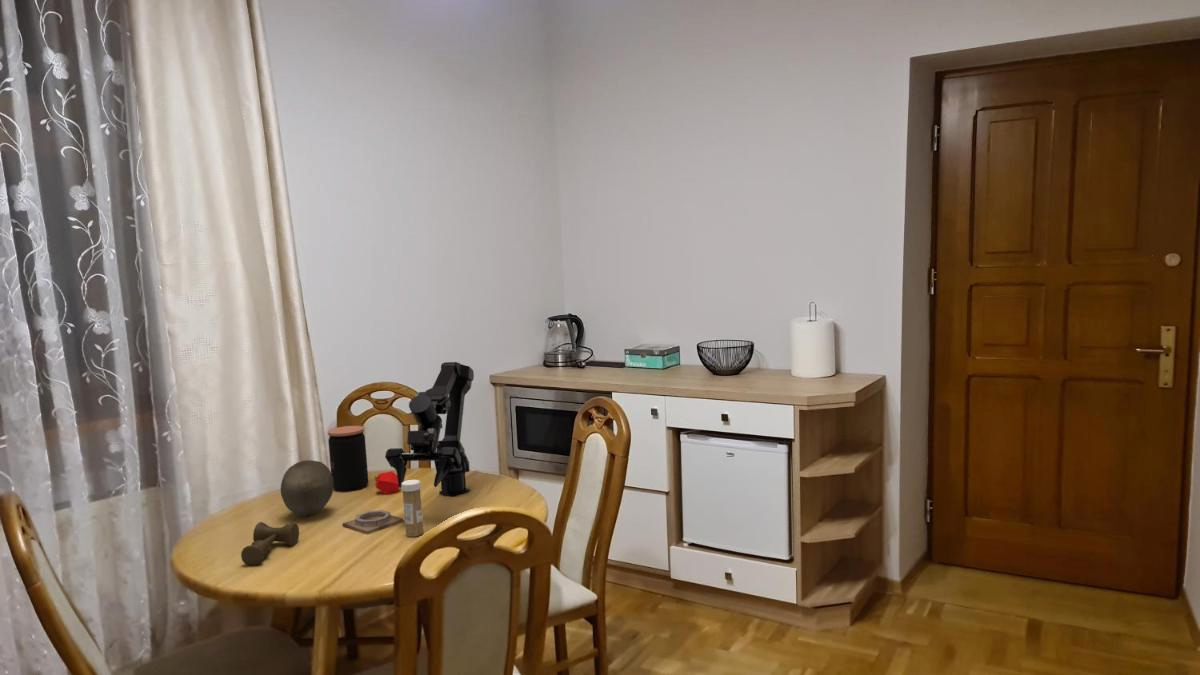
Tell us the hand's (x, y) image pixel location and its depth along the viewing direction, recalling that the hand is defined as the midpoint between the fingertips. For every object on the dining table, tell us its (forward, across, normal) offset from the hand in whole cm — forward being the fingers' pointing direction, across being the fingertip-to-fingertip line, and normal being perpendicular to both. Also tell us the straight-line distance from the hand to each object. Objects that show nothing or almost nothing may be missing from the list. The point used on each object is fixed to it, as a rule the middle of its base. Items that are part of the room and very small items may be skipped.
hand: (417, 486), depth 201 cm
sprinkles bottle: (+11, 0, +5) cm, 12 cm away
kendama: (+18, -32, -2) cm, 37 cm away
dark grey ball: (0, -35, +16) cm, 38 cm away
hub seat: (+5, -14, +10) cm, 18 cm away
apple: (-15, -21, +30) cm, 39 cm away
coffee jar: (-19, -35, +34) cm, 52 cm away
